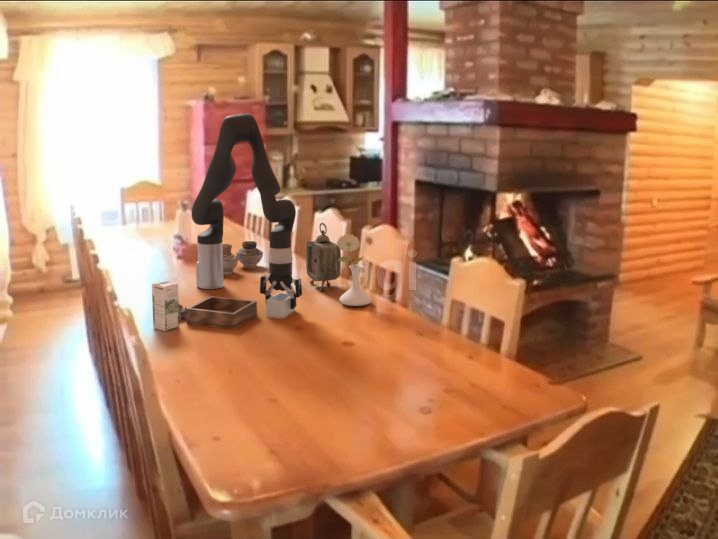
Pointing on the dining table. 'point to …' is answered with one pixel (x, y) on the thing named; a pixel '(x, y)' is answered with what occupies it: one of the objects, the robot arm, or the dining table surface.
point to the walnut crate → (221, 312)
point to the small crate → (278, 306)
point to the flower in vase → (353, 273)
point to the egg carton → (182, 312)
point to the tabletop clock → (323, 259)
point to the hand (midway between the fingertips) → (281, 307)
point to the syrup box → (165, 305)
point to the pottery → (241, 256)
